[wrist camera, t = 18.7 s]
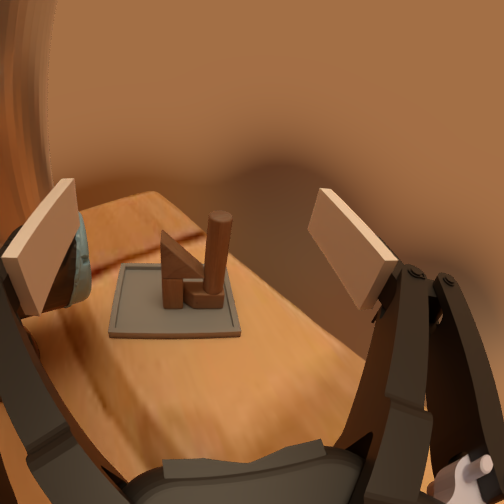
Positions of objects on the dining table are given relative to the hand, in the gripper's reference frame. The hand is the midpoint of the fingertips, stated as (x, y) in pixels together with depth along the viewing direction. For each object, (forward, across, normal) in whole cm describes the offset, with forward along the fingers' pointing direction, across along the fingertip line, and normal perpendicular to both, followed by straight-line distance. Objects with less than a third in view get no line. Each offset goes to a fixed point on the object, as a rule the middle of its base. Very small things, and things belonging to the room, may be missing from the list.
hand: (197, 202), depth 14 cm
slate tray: (+25, -1, -32) cm, 41 cm away
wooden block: (+24, +2, -32) cm, 40 cm away
